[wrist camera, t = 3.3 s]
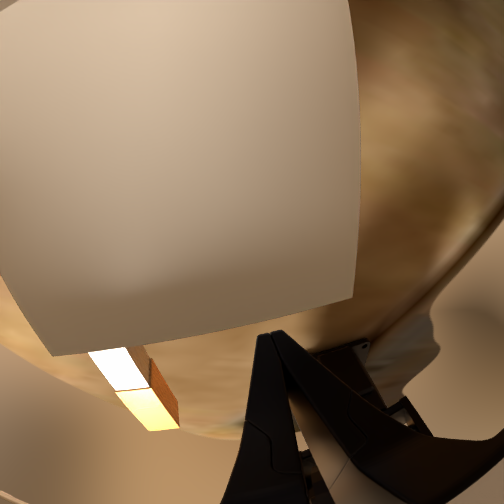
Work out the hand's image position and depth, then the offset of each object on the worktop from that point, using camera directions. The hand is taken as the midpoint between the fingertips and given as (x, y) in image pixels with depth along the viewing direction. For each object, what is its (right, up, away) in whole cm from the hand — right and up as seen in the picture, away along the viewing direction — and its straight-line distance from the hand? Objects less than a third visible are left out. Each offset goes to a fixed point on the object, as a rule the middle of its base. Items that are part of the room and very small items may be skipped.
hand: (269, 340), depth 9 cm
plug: (-3, +8, 0) cm, 8 cm away
